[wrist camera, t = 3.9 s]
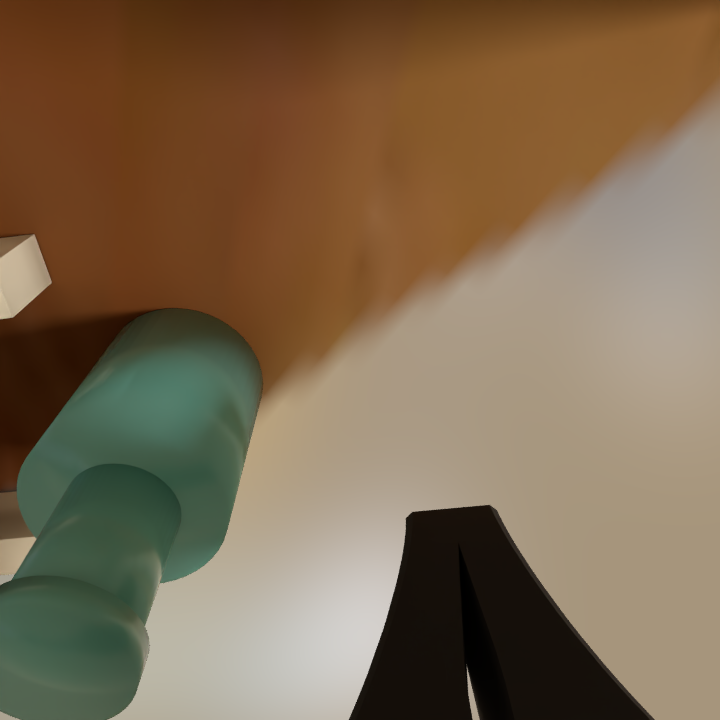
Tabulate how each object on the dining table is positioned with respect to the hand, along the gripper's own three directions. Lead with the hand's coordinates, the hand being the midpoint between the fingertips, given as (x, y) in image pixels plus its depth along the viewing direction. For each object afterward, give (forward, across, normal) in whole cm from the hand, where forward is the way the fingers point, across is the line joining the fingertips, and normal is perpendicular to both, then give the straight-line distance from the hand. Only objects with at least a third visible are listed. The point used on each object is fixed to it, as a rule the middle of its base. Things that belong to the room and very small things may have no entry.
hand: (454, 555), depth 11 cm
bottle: (+7, +6, 0) cm, 9 cm away
